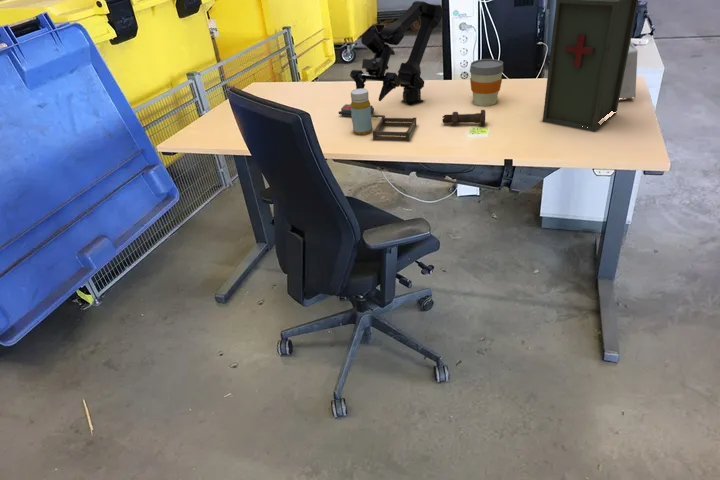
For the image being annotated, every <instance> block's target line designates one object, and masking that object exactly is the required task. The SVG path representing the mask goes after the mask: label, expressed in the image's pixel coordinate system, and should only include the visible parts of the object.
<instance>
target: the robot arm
mask: <svg viewBox="0 0 720 480" xmlns="http://www.w3.org/2000/svg"><path fill="white" fill-rule="evenodd" d="M443 16H444V8H443V6H442V5H441V4H435V3H433V4H432V3H429V2H426V1H423V0H415V1H413V2H412V4H411V5H410V6H409V7H408V8H407V9H406V10H405V12H403V14H402V15H400V16H399V18H397V20H396V21H394V22H392V23H389V24H387V25H385V26H384V27H382V29H381V30H380V31H378V29H376V28H375V27H370V29H369V30H368V31H366V32H365V33H364V34H363V35H362V36H361V40H360V41H361V44H362V45H363V46H364V47H365V48H366V49H367V50H368V51H369V52H370V53H371V54H374V55H373V58H362V62H361V69H365V72H366V73H364V71H363V70H361V69H352V70H351V71H350V73H349V77H350V79H352V80H353V82H355V89H365V86H366V84H365V83H366V82H367V81H377V82H382V87H381V90H380V93H379V95H378V102H381V101H382V100H383V99H384V98H386V96H387V95H388V94H389V93H390V92H391V91H393V90H394V89H396V88H399V87H400V88H403V91H402V99H401V103H404V104H405V105H408V106H414V105H416V104H420V103H423V102H424V100H423V99H422V92H421V90H422V89H423V88H424V87H425V80H424V79H423V78H422V77H421V74H422V69H421V63H422V60H423V57H424V55H425V52H426V49H427V47H428V44H429V40H430V38H431V36H432V33H433V30H434V29H436V28H437V27H438V25H439V24H440V22H441V21H442V19H443ZM418 19H419V22H420V26H419V29H418V31H417V35H416V37H415V40H414V43H413V46H412V48H411V50H410V54H409V57H408V59H407V61H406V62H401V63H400V66H399V69H398V71H397V72H391V71H388V70H389V62H390V59H391V56H395V55H396V53H395V51H394V47H393V46H398V45H400V43H401V42H402V41H403V39H404V38H405V33H406V31H407V30H408V29H410V27H411V26H412V25H413V24H414V23H415V22H416V21H417V20H418ZM390 45H391V46H392V47H391V46H390Z"/></svg>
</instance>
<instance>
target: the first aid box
mask: <svg viewBox="0 0 720 480" xmlns="http://www.w3.org/2000/svg"><path fill="white" fill-rule="evenodd" d="M639 2H640V0H555V9H554V16H553V24H552V25H553V26H552V36H551V43H550V44H551V45H550V52H549V53H550V54H549V63H548V69H547V79H546V89H545V94H544V95H545V96H544V105H543V112H542V113H543V114H542V122H544V123H548V124H553V125H559V126H563V127H568V128H574V129H579V130H584V131H588V132H594V133H595V132H596V131H598V130H599V129H600V128H601V127H603V126H604V125H605V124H606V123H608V122H609V121H611V119H612V118H614V117H615V116H616V115H617V114H618V113H617V112H618V109H619V102H620V100H619V98H620V93H621V88H622V83H623V77H624V72H625V67H626V62H627V57H628V52H629V47H630V42H631V41H632V36H633V31H634V25H635V21H636V15H637V10H638V6H639ZM611 111H613V112H616V111H617V112H616V113H614V114H613V115H612V116H611V117H609V118H608V119H607V120H606V121H604V122H603V123H602V124H601V125H600V124H599V123H598V122H599V121H600V120H601V119H602V118H604V117H605V116H606V115H607V114H609V113H610V112H611ZM582 126H583V127H582ZM587 127H588V128H587Z"/></svg>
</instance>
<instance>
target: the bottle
mask: <svg viewBox="0 0 720 480" xmlns="http://www.w3.org/2000/svg"><path fill="white" fill-rule="evenodd" d="M369 98H370V97H369V90H368V89H367V88H364V89H356V88H355V89H352V90H351V91H350V99H351V102H350V104H351V113H352V117H351V121H352V123H351V124H352V131H353V133H354V134H355V135H359V136H360V135H361V136H363V135H368V134H370V133H372V132H373V122H372V117H371V115H372V113H371V106H372V105H371V102H370V100H369ZM370 105H371V106H370Z"/></svg>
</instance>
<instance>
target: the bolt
mask: <svg viewBox="0 0 720 480" xmlns="http://www.w3.org/2000/svg"><path fill="white" fill-rule="evenodd" d="M441 121H442V123H443V124H452V126H453V127H457V126H458V125H459V124H470V123H475V124H479V125H480V127H485V126H486V109H480V112H477V113H460V114H459V112H458V111H453V112H452V114H444V115H443V116H442V120H441Z"/></svg>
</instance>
